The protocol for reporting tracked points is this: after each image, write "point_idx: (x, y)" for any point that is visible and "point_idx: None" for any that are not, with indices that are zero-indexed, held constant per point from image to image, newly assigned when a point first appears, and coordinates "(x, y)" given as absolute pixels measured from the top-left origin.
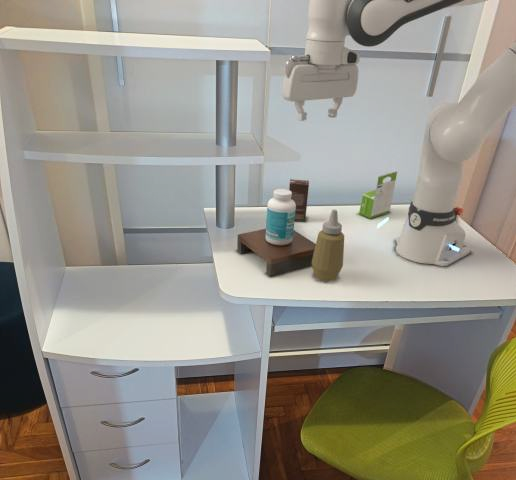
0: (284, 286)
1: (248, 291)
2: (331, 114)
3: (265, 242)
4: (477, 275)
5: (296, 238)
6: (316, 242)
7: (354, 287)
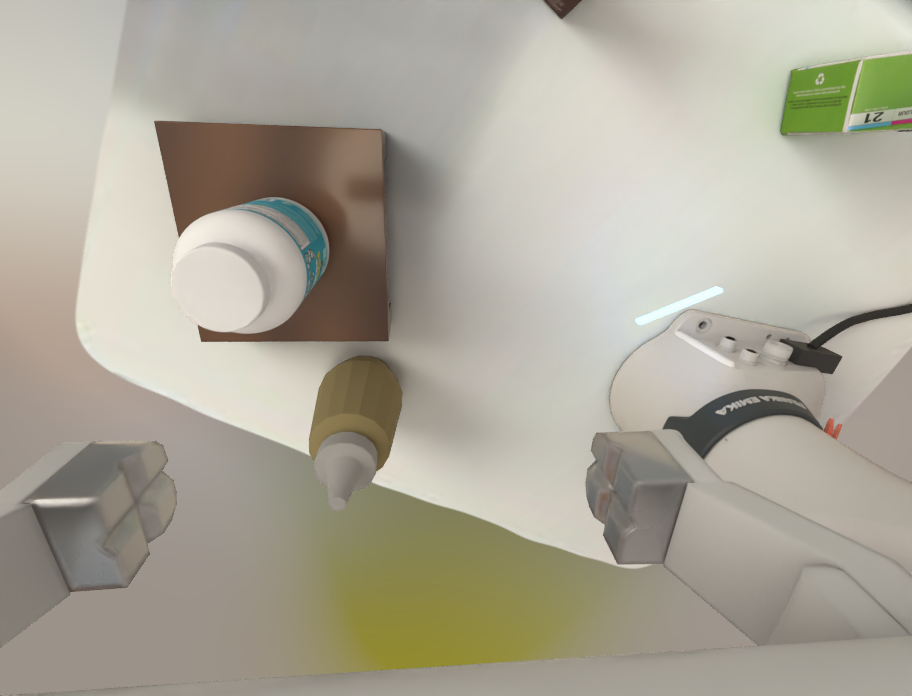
0: (239, 374)
1: (136, 356)
2: (602, 501)
3: None
4: None
5: (351, 256)
6: (317, 413)
7: (396, 442)
